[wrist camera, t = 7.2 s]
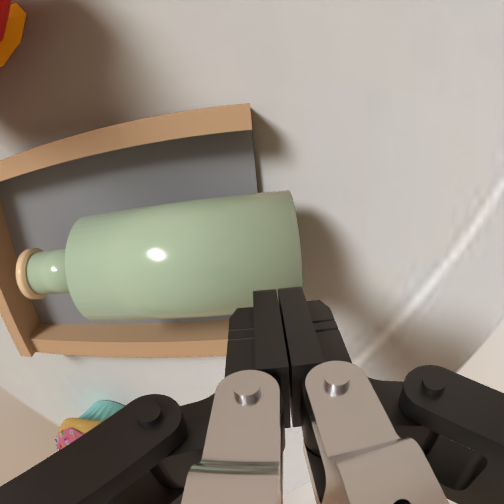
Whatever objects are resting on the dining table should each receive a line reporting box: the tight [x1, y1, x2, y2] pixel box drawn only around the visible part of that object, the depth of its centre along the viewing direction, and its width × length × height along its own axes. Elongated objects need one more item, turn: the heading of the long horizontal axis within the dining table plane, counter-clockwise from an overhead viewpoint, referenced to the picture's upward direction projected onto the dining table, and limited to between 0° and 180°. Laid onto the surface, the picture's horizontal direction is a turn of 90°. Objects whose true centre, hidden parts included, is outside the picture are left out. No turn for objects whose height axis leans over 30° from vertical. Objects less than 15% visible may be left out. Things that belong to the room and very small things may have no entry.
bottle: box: [16, 190, 303, 321], centre depth 15 cm, size 5×5×15 cm
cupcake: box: [56, 401, 125, 450], centre depth 18 cm, size 9×8×12 cm
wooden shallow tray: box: [0, 103, 258, 358], centre depth 16 cm, size 18×13×3 cm
